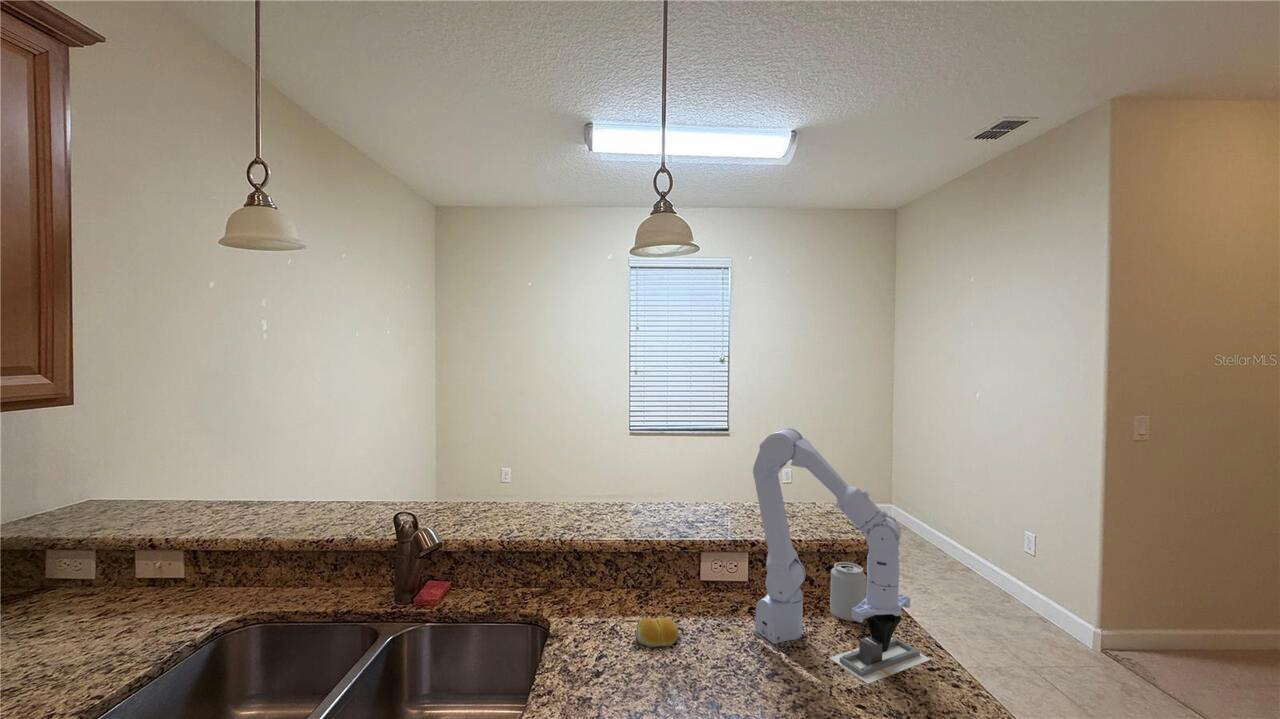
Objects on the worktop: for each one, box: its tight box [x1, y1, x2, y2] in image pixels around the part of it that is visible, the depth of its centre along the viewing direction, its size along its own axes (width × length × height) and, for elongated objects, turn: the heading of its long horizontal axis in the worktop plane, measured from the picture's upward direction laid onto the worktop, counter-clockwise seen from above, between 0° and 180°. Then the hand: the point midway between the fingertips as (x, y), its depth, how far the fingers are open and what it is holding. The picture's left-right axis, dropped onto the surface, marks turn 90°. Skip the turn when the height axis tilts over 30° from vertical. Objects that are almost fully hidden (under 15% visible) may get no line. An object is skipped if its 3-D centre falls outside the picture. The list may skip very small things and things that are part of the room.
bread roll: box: [635, 617, 680, 648], centre depth 113 cm, size 8×9×4 cm
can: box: [829, 561, 867, 622], centre depth 123 cm, size 8×8×12 cm
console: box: [829, 637, 932, 685], centre depth 104 cm, size 18×9×2 cm, turn 117°
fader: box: [858, 636, 883, 665], centre depth 103 cm, size 3×3×4 cm
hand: (880, 649), depth 104 cm, fingers closed
